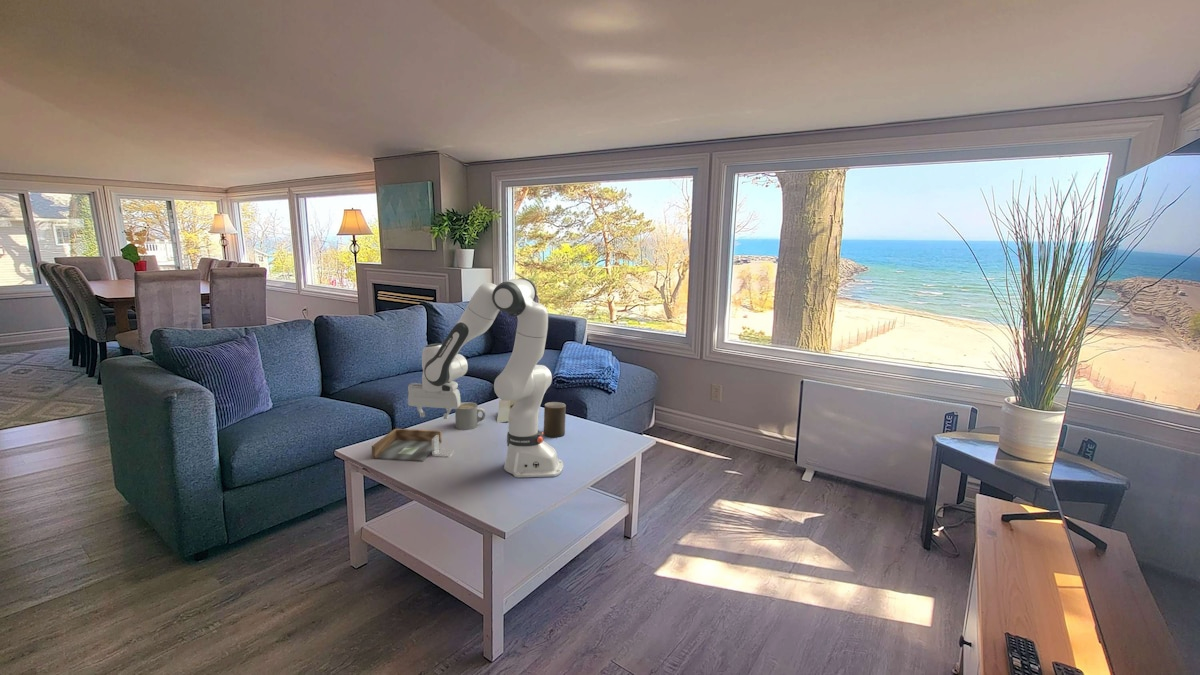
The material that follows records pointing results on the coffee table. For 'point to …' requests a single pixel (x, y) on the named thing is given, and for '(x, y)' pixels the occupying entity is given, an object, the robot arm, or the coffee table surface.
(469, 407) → the coffee mug
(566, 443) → the coffee table surface
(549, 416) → the pillar candle
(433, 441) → the aluminium bracket
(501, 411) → the wall
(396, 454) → the tray
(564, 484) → the coffee table surface
